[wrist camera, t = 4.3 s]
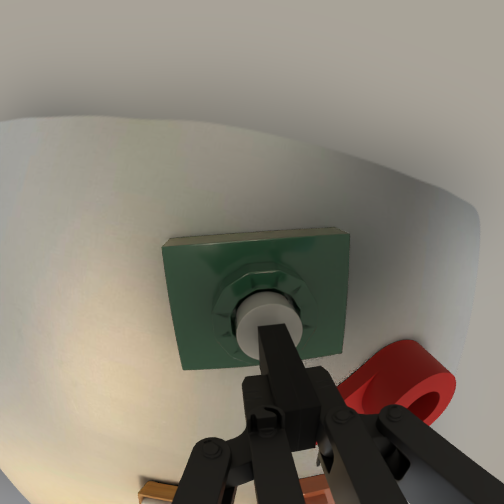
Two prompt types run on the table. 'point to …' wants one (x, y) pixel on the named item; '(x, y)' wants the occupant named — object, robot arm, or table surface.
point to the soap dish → (156, 493)
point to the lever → (400, 382)
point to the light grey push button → (264, 319)
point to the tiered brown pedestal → (316, 490)
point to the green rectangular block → (255, 289)
